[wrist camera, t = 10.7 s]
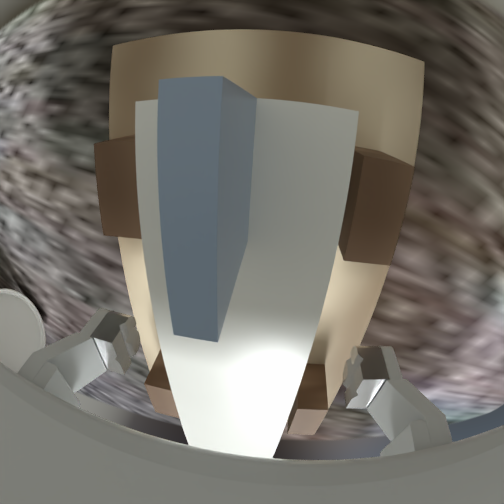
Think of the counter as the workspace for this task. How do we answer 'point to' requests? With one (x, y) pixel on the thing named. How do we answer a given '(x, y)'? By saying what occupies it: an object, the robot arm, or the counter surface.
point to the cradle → (360, 187)
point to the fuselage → (238, 248)
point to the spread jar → (19, 329)
